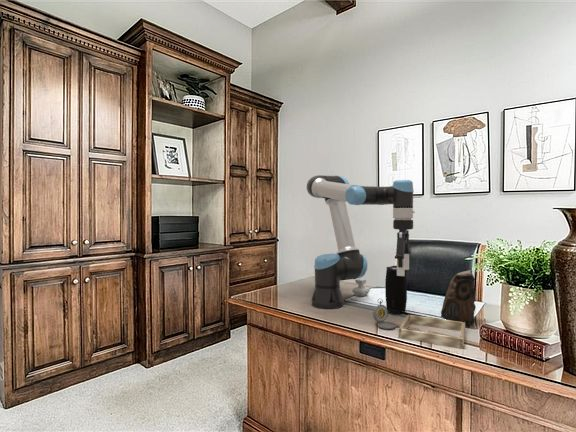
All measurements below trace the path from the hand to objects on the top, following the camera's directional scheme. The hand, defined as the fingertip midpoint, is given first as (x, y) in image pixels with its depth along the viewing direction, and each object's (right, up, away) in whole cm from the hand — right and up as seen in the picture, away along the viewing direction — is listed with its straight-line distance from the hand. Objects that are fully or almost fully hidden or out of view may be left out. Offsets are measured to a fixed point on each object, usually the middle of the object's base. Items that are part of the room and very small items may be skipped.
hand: (403, 272), depth 134 cm
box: (+6, -20, -14) cm, 25 cm away
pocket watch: (-9, -20, -5) cm, 22 cm away
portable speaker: (+1, -19, +13) cm, 23 cm away
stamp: (-8, -19, +41) cm, 46 cm away
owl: (+22, -19, +1) cm, 29 cm away
